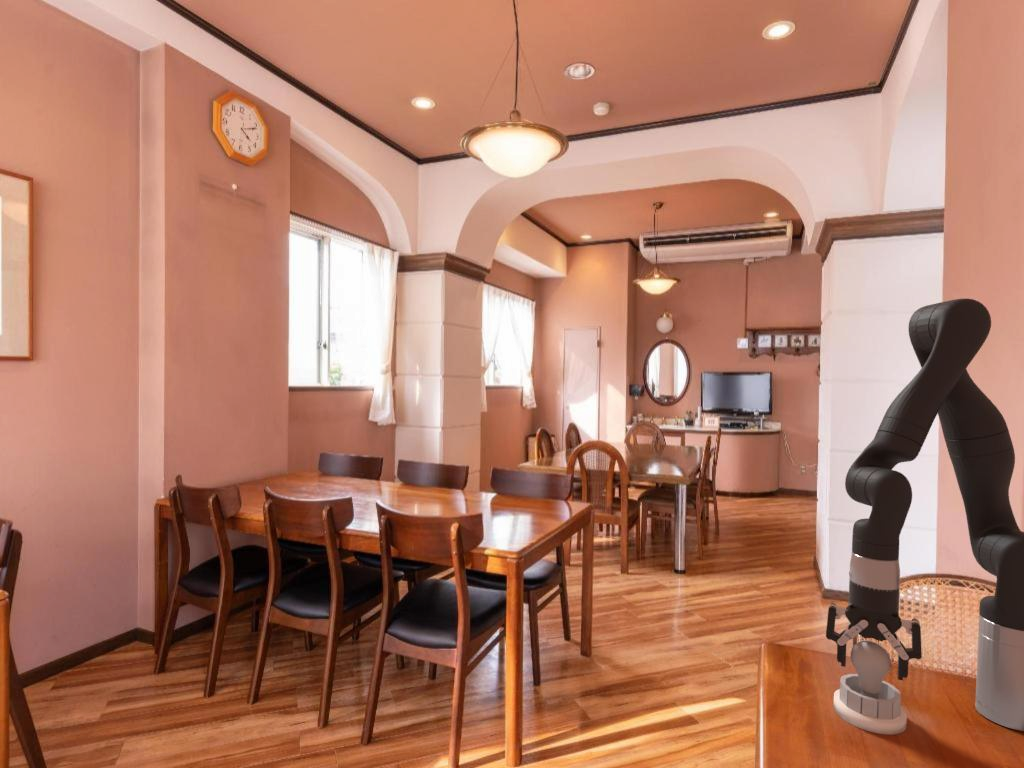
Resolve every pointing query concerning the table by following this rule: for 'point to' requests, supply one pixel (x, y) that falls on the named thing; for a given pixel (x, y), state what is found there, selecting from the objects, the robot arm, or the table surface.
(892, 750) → the table surface
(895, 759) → the table surface
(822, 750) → the table surface
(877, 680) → the lightbulb
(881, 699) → the lamp base
